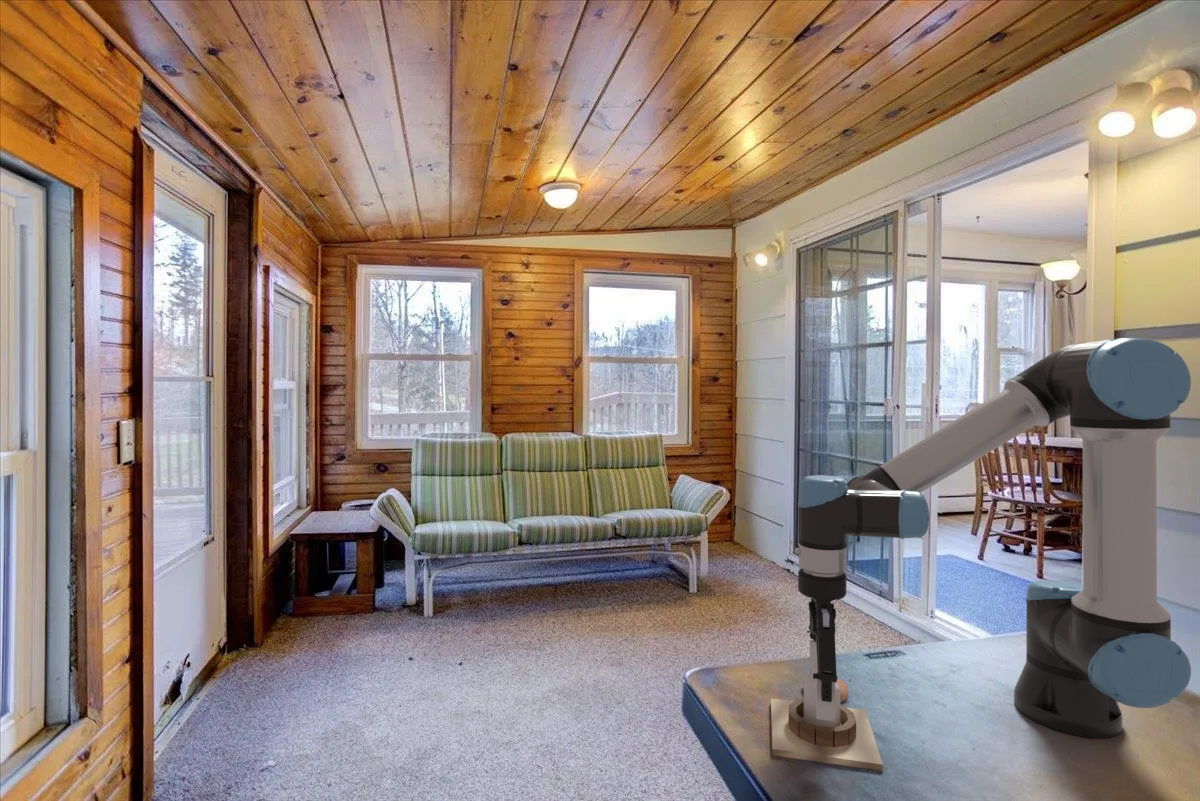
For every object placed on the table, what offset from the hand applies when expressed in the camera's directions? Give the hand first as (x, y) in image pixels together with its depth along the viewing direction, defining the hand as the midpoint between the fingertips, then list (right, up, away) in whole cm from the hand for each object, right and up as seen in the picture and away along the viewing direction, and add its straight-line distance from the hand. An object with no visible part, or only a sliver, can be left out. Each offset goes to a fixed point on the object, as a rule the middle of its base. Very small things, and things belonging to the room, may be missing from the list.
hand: (821, 697), depth 102 cm
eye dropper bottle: (0, -5, 0) cm, 5 cm away
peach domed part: (+6, -6, +14) cm, 16 cm away
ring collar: (0, -6, 0) cm, 6 cm away
